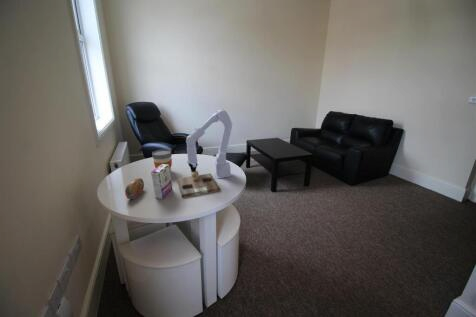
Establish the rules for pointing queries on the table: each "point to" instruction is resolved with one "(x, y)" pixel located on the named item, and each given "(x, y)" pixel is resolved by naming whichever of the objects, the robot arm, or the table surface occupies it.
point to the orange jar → (162, 158)
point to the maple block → (195, 175)
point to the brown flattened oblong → (134, 188)
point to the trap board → (197, 185)
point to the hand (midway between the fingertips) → (193, 173)
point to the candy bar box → (162, 181)
